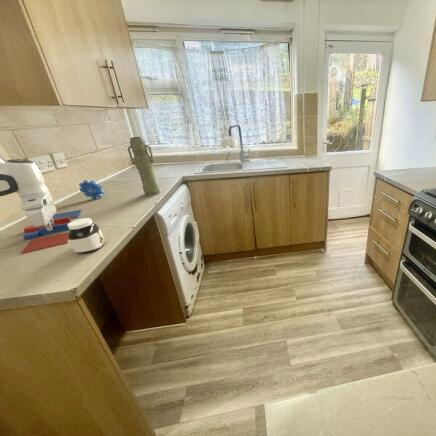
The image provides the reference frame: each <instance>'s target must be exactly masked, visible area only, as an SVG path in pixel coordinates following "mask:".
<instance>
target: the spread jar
mask: <svg viewBox="0 0 436 436" xmlns="http://www.w3.org/2000/svg"><path fill="white" fill-rule="evenodd" d="M67 226H68V228H69V229H70V230H68V232H69V233H68V243H67V244H68V246H69V247H71V248H72V250H73V252H74V253H76V254H79V255H86V254H91V253H94V252H97V251H99V250H101V249H102V248H103V247H104V245H105V237H104V235H103V232H102V230H101V228H100V226H99V225H97V224H96V223H94V222H93V221H92V219H91V218H90V217H84V218H79V219H78V218H77V219H75V220H73V221H72V220H71V222H70V223H69V224H68V225H67Z"/></svg>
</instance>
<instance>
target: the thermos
mask: <svg viewBox="0 0 436 436" xmlns="http://www.w3.org/2000/svg"><path fill="white" fill-rule="evenodd" d="M129 145H130V146H127V151H128V155H129V158H130V161H131V163H132V165H134V166H135V167H136V170H137V171H138V174H139V177H140V180H141V184H142V190H143V193H144V195H145V196H146V197H151V196H152V197H153V196H156V195H159V194H161V187H160V185H159V183H158V181H157V178H156V174H155V171H154V164H153V163H154V162H155V157H154V155H153V151H152V147H151V146H150V145H149V144H146V141H145V140H144V138H143V137H142V136H132V137H131V138H129ZM131 150H132V151H131ZM132 153H133V155H132Z"/></svg>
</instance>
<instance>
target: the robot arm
mask: <svg viewBox="0 0 436 436" xmlns="http://www.w3.org/2000/svg"><path fill="white" fill-rule="evenodd" d="M45 182H46V181H45V178H44V175H43V174H42V172H41V170H40V168H39V167H38V165H37V164H36V163H35V162H34V161H32V160H29V159H23V158H21V159H20V158H18V159H17V158H15V159H8V160H5V159H4V158H3V157H2V156H1V155H0V197H4V196H8V195H10V194H18V196H19V198H20V206H19V207H20V209H21V210H22V211H24V213H25V215H26V217H27V218H28V220H29V222H30V223H31V226H34V227H36V228H37V227H43V226H45V227H46V229H47V231H51V230H53V226H54V222H53V218H52V217H53V216H54V214H57V208H56V205H55V204H54V202H53V201H54V199H53V196H52V193H51V192H50V189H49V188H48V187H47V186H46V184H45Z"/></svg>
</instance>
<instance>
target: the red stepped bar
mask: <svg viewBox="0 0 436 436" xmlns="http://www.w3.org/2000/svg"><path fill="white" fill-rule="evenodd" d="M53 222H54V225H59V224H65V223H70V222H72V219H70V217H65V218H60V219H54V220H53ZM43 227H45V226H43ZM43 227H37V228H36V227H34V226H33V225H28V226H25V227H24V228H23V232H24V234H25V233H29V232H34V231H38V229H39V228H43Z"/></svg>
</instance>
